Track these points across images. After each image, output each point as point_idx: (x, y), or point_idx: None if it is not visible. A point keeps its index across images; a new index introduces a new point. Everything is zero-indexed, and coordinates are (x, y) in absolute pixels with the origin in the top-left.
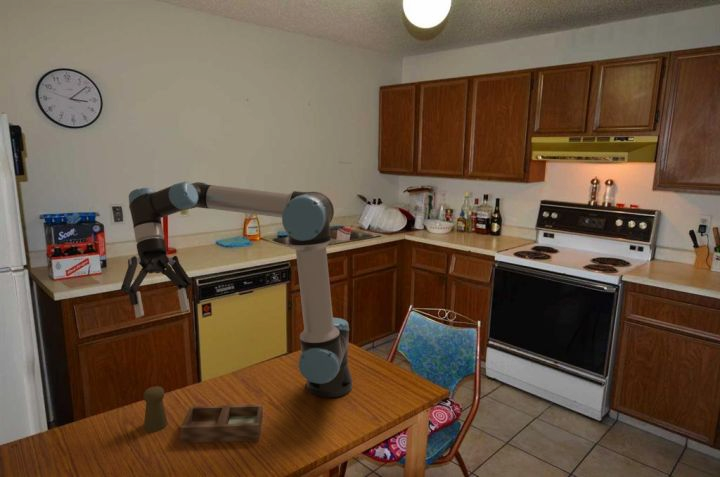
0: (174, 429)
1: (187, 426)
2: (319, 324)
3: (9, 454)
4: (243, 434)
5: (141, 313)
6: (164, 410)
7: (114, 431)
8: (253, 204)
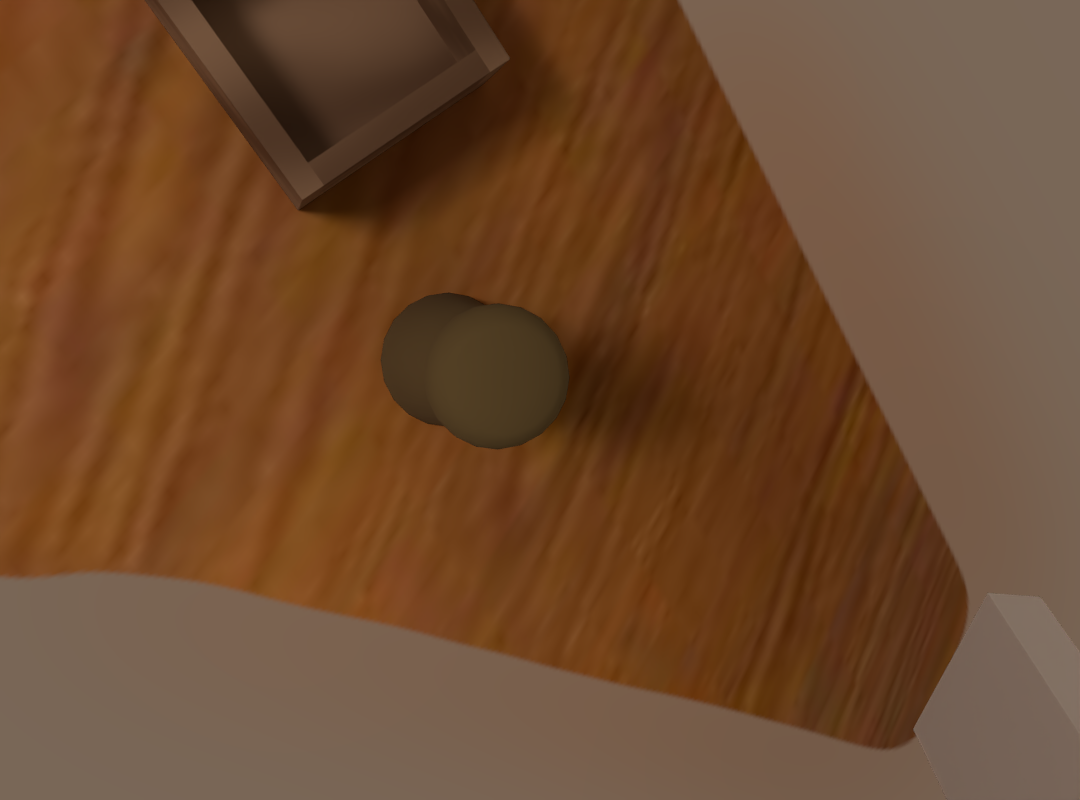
0: (414, 229)
1: (477, 28)
2: None
3: None
4: None
5: (1054, 622)
6: (429, 321)
7: (603, 501)
8: None
